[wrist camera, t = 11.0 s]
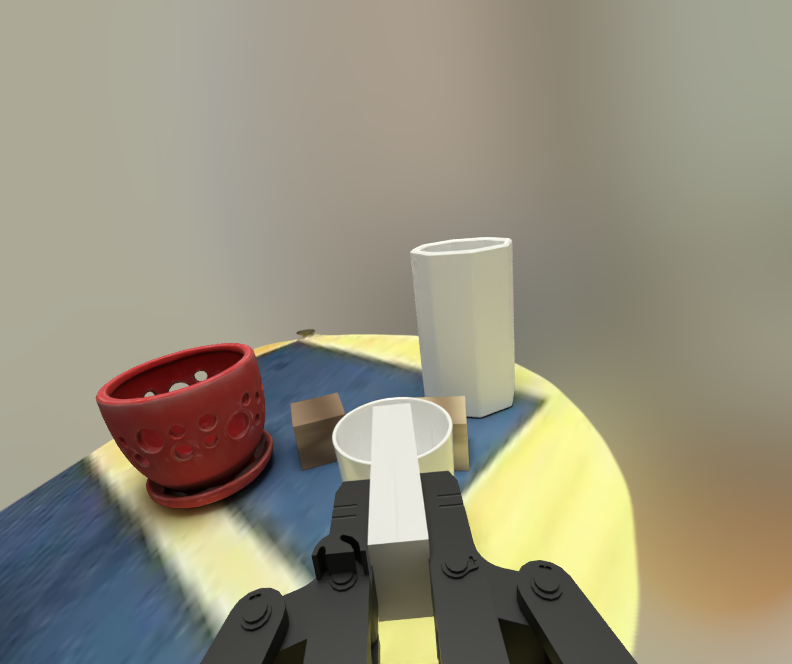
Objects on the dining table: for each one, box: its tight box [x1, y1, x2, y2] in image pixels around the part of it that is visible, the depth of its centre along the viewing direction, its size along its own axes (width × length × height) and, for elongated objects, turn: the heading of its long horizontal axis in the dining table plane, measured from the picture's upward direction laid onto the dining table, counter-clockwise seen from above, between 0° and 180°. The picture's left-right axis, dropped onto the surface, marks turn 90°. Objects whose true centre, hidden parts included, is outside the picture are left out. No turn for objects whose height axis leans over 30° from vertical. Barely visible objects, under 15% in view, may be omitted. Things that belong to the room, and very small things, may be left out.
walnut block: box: [291, 393, 345, 470], centre depth 41 cm, size 5×5×5 cm
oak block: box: [418, 396, 469, 471], centre depth 38 cm, size 5×5×5 cm
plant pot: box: [96, 343, 273, 508], centre depth 38 cm, size 13×13×12 cm
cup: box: [410, 237, 515, 418], centre depth 46 cm, size 11×11×18 cm
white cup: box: [332, 397, 454, 482], centre depth 28 cm, size 8×8×10 cm
